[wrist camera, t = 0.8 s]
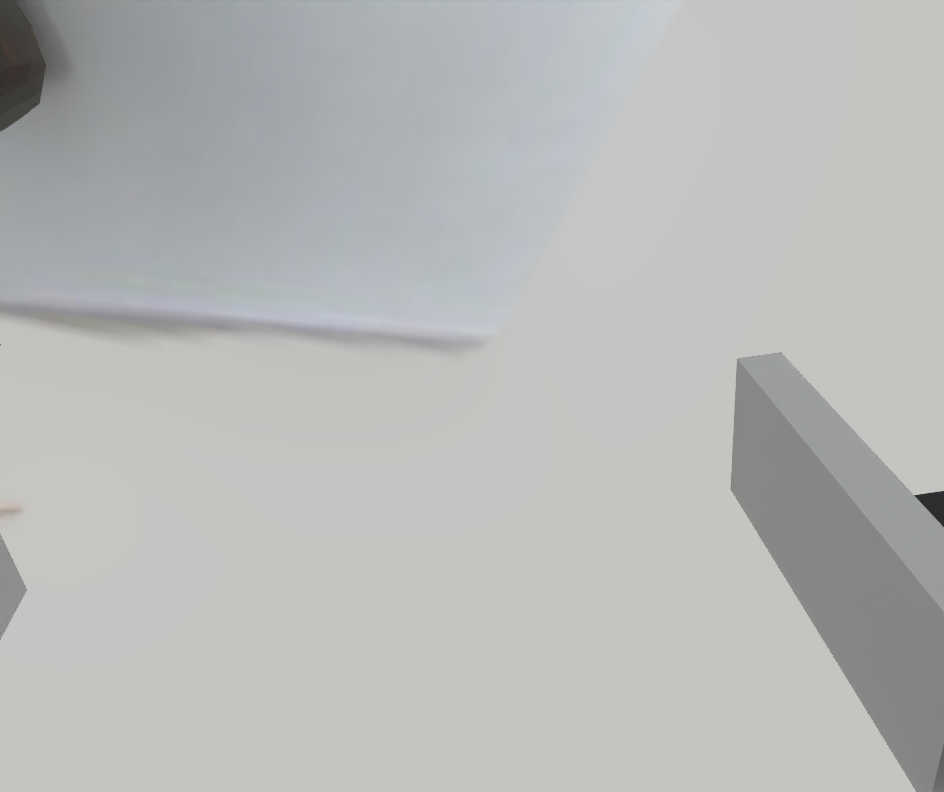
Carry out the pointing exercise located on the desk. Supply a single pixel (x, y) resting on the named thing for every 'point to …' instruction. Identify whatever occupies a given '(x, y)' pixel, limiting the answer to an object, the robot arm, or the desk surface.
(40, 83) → the mug
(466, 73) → the desk surface
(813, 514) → the robot arm
